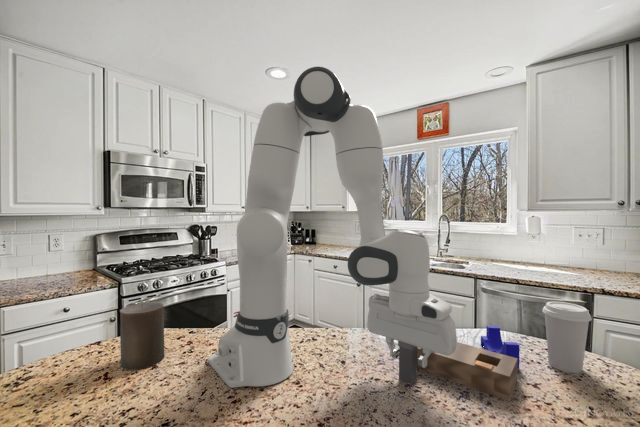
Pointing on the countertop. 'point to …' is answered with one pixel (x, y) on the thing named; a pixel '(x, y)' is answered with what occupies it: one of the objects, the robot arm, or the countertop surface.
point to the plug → (407, 362)
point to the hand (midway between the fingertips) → (408, 361)
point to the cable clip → (499, 343)
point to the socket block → (475, 369)
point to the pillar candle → (142, 335)
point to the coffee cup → (566, 335)
